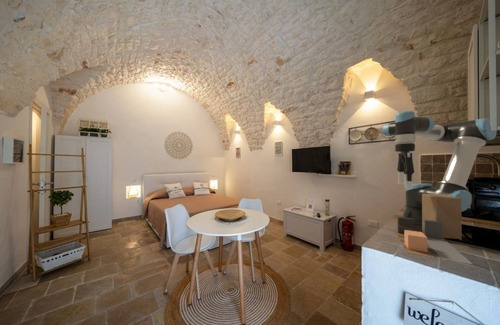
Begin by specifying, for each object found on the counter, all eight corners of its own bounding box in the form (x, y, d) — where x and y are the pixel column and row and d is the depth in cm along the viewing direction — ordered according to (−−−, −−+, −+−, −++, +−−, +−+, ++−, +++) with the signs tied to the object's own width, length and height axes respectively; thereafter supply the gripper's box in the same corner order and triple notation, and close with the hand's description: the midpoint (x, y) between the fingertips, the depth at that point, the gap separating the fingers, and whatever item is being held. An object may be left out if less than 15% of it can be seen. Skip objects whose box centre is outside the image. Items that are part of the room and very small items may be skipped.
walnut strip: (395, 233, 95) (395, 216, 95) (415, 236, 91) (415, 218, 91) (407, 255, 74) (407, 233, 74) (434, 260, 70) (434, 236, 70)
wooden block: (462, 240, 85) (462, 198, 85) (436, 239, 88) (436, 197, 87) (444, 232, 95) (444, 194, 95) (421, 231, 97) (421, 193, 97)
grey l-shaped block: (420, 237, 90) (420, 219, 90) (443, 240, 86) (443, 221, 86) (441, 261, 69) (441, 237, 69) (472, 267, 65) (472, 242, 65)
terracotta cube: (404, 243, 82) (404, 229, 82) (422, 246, 79) (422, 232, 79) (408, 249, 77) (408, 234, 77) (427, 252, 74) (427, 237, 74)
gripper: (390, 145, 104) (390, 182, 105) (401, 142, 82) (401, 189, 83) (407, 144, 101) (407, 183, 101) (423, 141, 79) (423, 190, 79)
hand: (405, 186), depth 92 cm, fingers open, 13 cm apart
